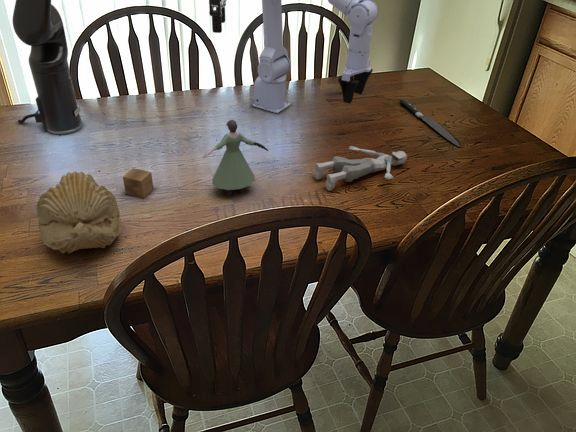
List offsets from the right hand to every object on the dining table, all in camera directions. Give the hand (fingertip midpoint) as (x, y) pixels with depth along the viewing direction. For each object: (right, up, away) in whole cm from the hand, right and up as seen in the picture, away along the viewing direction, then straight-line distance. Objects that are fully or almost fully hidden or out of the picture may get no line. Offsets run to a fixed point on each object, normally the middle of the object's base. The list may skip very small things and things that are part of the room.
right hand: (352, 97), depth 141 cm
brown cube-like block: (-53, -28, -24) cm, 65 cm away
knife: (+25, -5, +11) cm, 28 cm away
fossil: (-59, -39, -40) cm, 81 cm away
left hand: (-36, +14, -16) cm, 41 cm away
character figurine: (-30, -27, -22) cm, 46 cm away
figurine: (+1, -23, -14) cm, 27 cm away
